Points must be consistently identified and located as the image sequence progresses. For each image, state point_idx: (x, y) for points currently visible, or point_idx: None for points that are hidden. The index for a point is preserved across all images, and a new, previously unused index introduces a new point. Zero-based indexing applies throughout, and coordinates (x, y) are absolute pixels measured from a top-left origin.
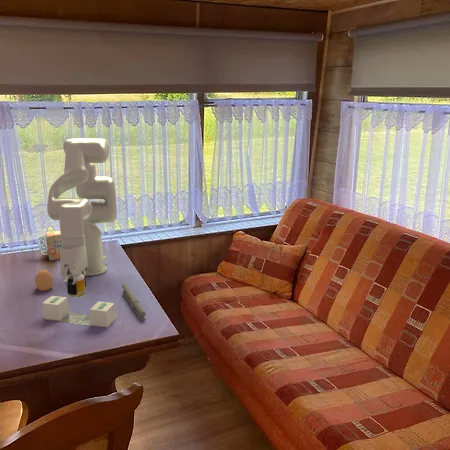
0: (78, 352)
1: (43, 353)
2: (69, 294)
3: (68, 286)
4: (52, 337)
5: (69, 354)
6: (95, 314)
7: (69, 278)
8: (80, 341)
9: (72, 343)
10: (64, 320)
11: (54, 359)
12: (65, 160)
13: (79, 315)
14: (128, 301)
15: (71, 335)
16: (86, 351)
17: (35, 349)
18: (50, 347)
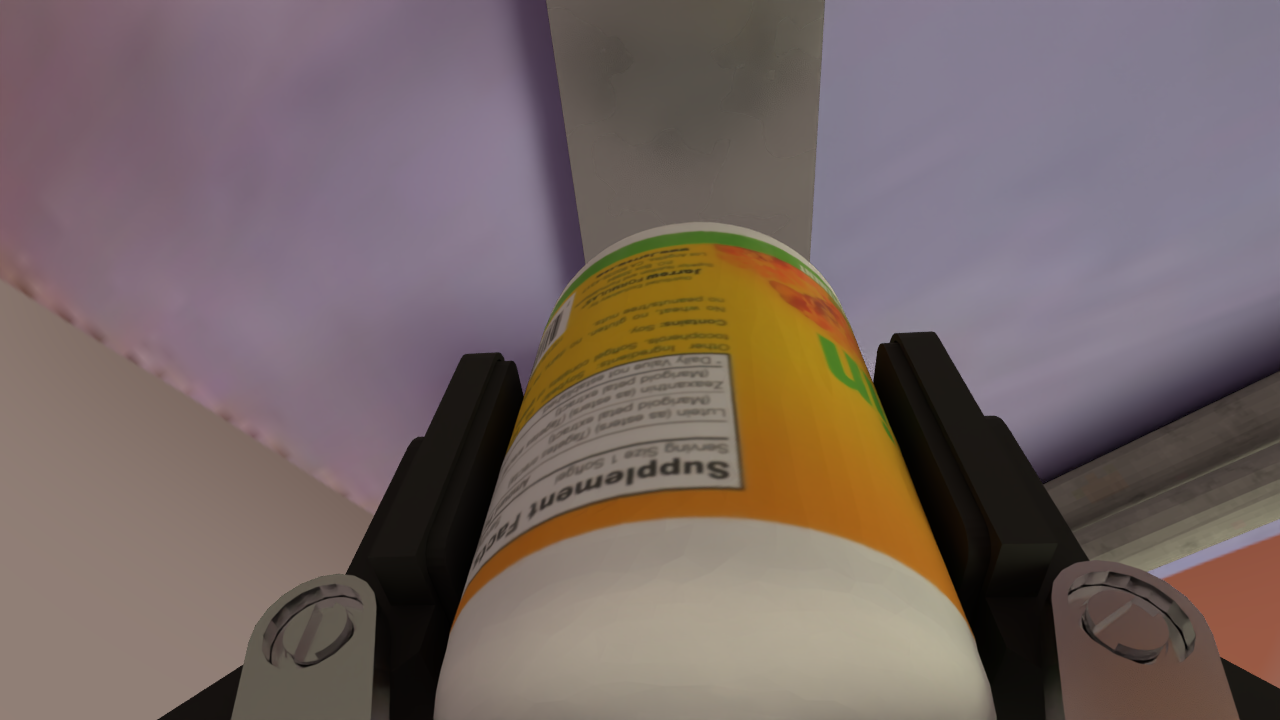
0: (275, 419)
1: (63, 185)
2: (564, 298)
3: (360, 561)
4: (293, 78)
5: (213, 379)
6: None
7: (436, 716)
8: (395, 359)
9: (335, 320)
10: (590, 19)
11: (90, 320)
12: None
13: (767, 130)
14: (1173, 441)
15: (429, 240)
16: (319, 456)
17: (34, 61)
18: (165, 182)
